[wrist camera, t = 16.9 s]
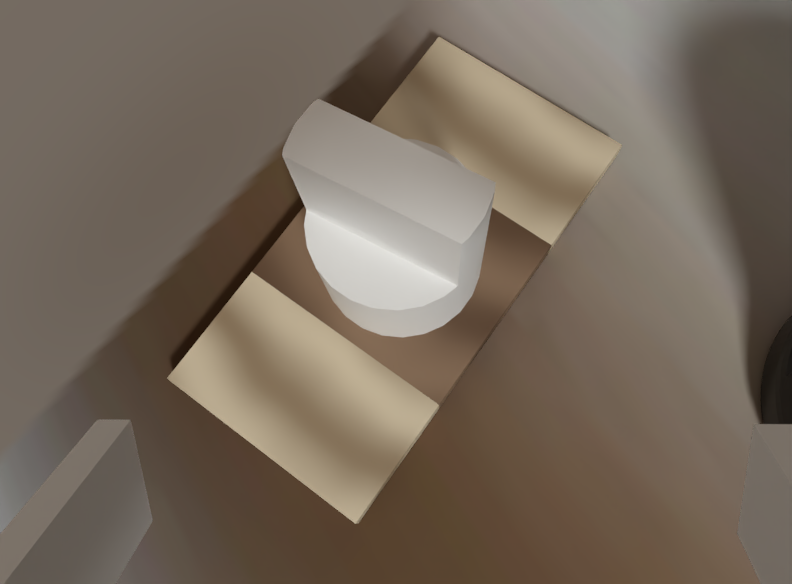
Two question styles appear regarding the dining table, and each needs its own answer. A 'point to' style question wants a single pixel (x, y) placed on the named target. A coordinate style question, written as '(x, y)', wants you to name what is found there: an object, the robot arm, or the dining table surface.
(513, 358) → the dining table surface
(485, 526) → the dining table surface
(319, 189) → the base with upright slab
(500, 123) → the pine board
